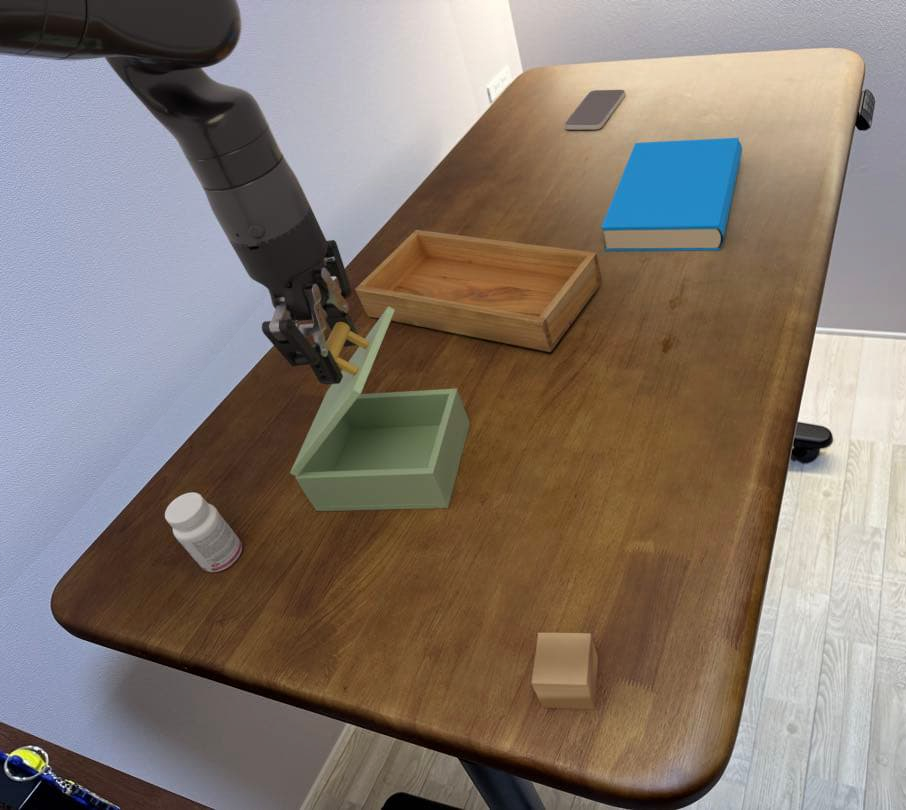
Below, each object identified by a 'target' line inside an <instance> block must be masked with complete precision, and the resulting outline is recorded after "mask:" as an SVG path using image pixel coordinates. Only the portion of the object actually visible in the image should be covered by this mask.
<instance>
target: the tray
mask: <svg viewBox="0 0 906 810" xmlns="http://www.w3.org/2000/svg"><path fill="white" fill-rule="evenodd" d="M598 258H599V257H598V254H597V252H593V251H586V250H578V249H570V248H563V247H554V246H547V245H538V244H531V243H530V244H529V243H521V242H514V241H505V240H498V239H492V238H491V239H489V238H483V237H474V236H467V235H459V234H453V233H452V234H451V233H443V232H436V231H429V230H420V229H415V230H414V231H413V232H412V233H411V234H410V235H409V236H408V237H407V238H406V239H405V240H404V241H403V242H402V243H401V244H400V245H398V247H397V248H396V249H394V250H393V252H392V253H390V254H389V255H388V256H387V257H386V258H385V259H384V260H383V261H382V262H381V263H380V264H379V265H378V266H377V267H376V268H375V269H374V270H373V271H372V272H371V273H370V274H369V275H368V276H367V277H366V278H365V279H364V280H363V281H361V282H360V284H358V285H357V286H356V287H355V288H354V290H355V292H356V294H357V297H358V299H359V301H360V303H361V306H362V308H363V310H364V312H365V314H366V316H367V317H369V318H373V319H374V318H375V319H380V317H381V316H382V314H383V313H384V312H385V310H386V309H387V307H388V306H389V307H391V308H392V309H394V310H395V311H394V314H393V316H392V319H391V321H390V322H395V323H396V322H397V323H402V324H405V325H412V326H417V327H421V328H427V329H431V330H437V331H441V332H448V333H451V334H456V335H461V336H467V337H473V338H476V339H483V340H488V341H493V342H497V343H502V344H507V345H512V346H517V347H522V348H528V349H532V350H538V351H542V352H548V353H551V352H552V351H553V350H554V348H555V347H556V346H557V344H558V343H559V341H560V340H561V339H562V338H563V336H564V335H565V333H566V332H567V330H568V329H569V328H570V326H571V325H572V324H573V322H574V321H575V320H576V319H577V317H578V316H579V314H580V313H581V312H582V310H583V309H584V308H585V306H586V305H587V303H588V302H589V301H590V299H591V298H592V296H593V295H594V294H595V292H596V291H597V289H598V288H599V287H600V285H601V284H602V274H601V269H600V264H599V259H598Z"/></svg>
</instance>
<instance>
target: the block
mask: <svg viewBox="0 0 906 810" xmlns="http://www.w3.org/2000/svg"><path fill="white" fill-rule="evenodd" d="M593 639H594V638H593V637H592V633H590V632H538V633H537V640H536V646H535V654H534V661H533V669H532V674H531V675H532V676H531V686H532V687H533V691H534V692H535V695H536V698H537V699H538V701H539V704H540V706H541V708H542V709H565V710H567V709H568V710H593V711H594V710H595V709H596V697H597V684H598V672H599V671H598V669H599V657H598V653H597V650H596V646H595V643H594V640H593Z"/></svg>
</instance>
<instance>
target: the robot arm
mask: <svg viewBox="0 0 906 810" xmlns="http://www.w3.org/2000/svg"><path fill="white" fill-rule="evenodd" d="M242 21H243V19H242V14H241V9H240V7H239V3H238V0H0V56H8V57H19V58H27V59H29V58H30V59H39V60H52V61H69V62H70V61H73V62H75V61H87V60H94V59H101V58H104V60H105V61H106V62H107V64H108V65H109V66H110V68H111V69H112V70H113V71H114V72H115V74H116V75H117V76H118V77H119V79H120V80H121V81H122V82H123V83H124V85H125V86H126V87H128V89H129V91H131V92H132V93H133V94H134V96H135V97H136V98H137V100H139V101H140V102H141V104H142V105H143V106H144V107H145V108H146V109H147V110H148V112H149V113H150V114H151V115H152V116H153V118H155V119H156V120H157V121H158V122H159V123H160V124H161V125H162V126H163V128H164V129H165V130H167V131H168V132H169V134H171V136H172V137H173V138H174V139H175V140H176V142H177V144H178V146H179V147H180V149H181V151H182V153H183V155H184V156H185V157H184V158H185V159H186V161H187V163H188V165H189V166H190V167H191V169H192V171H193V173H194V175H195V176H196V177H195V178H196V179H197V180H198V182H199V184H200V185H201V187H202V190H203V191H204V193H205V196H206V198H207V201H208V204H209V206H210V208H211V212H212V213H213V215H214V216H215V218H216V220H217V222H218V224H219V225H220V227H221V229H222V231H223V233H224V234H225V236H226V238H227V240H228V241H229V244H230V245H231V247H232V249H233V250H234V252H235V253H236V255H237V257H238V260H239V261H240V263H241V264H242V266H243V268H244V270H245V272H246V273H247V275H248V277H249V278H250V279H252V280H253V281H255V282H257V283H258V284H260V285H262V286H263V287H265V288H267V290H268V292H269V295H270V300H271V304H272V307H273V308H274V312H273V316H272V318H271V320H267V321H266V320H265V321H263V322H262V323H261V331H262V333H263V334H264V336H265V337H266V338H267V339H268V340H269V342H270V343H271V344H272V345H273V346H274V347H275V349H276V350H277V351H278V352H279V353H280V354H281V356H282V357H283V358H284V359H285V360H286V362H288V363H289V365H290V366H291V367H299V366H308V365H309V366H310V368H311V370H312V372H313V374H314V375H315V377H316V379H317V381H318V382H319V383H320V384H322V385H332V384H339V383H340V382H341V380H342V378H343V375H342V373H341V371H342V370H341V369H340V368H339V367H338V365H337V363H336V361H335V360H334V358H333V356H332V354H331V352H330V350H328V348H327V344H326V342H327V340H326V337H325V333H324V332H325V330H327V325H328V327H329V329H330V332H332V330H333V328H334V326H335V324H336V323H337V322H344V323H346V324H347V325H348V326H349V327H350V331H352V332H353V333H355V334H357V335H359V334H358V332H357V329H356V327H355V325H354V322H353V321H352V318H351V316H350V314H349V311H350V305H349V302H348V301H347V298H351V297H352V294H353V291H352V287H351V284H350V280H349V277H348V275H347V271H346V268H345V265H344V262H343V259H342V256H341V252H340V250H339V246H338V243H337V241H336V240H335V239H331V240H330V239H329V240H327V239H326V236H325V234H324V232H323V230H322V228H321V226H320V224H319V222H318V219H317V218H316V215H315V213H314V211H313V209H312V207H311V204H310V202H309V200H308V198H307V196H306V193H305V192H304V189H303V188H302V185H301V183H300V181H299V179H298V177H297V176H296V175H297V174H296V173H295V172H294V170H293V169H292V167H291V166H290V164H289V162H288V160H287V159H286V157H285V155H284V154H283V152H282V150H281V148H280V146H279V143H278V141H277V138H276V137H275V135H274V133H273V131H272V128H271V126H270V124H269V122H268V120H267V118H266V115H265V114H264V111H263V110H262V107H261V106H260V104H259V103H258V101H257V99H256V98H255V96H253V95H252V94H251V93H250V92H249V91H247V90H246V89H243V88H239V87H235V86H232V85H227V84H224V83H221V82H218V81H215V80H214V79H213V78H212V77H210V76H209V75H208V74H207V72H206V71H205V70H204V68H209V67H213V66H217V65H218V64H221V63H222V62H223V61H225V60H227V59H228V58H229V57H230V56H231V55H232V53H234V51H235V49H236V47H237V46H238V44H239V42H240V39H241V35H242V30H243V29H242V28H243V26H242V25H243V22H242ZM332 277H335V278H337V281H338V284H339V285H338V284H337V283H336V282H335V280H334V279H333V278H332ZM325 316H326V318H325ZM302 321H304V322H305V321H313V323H304V324H301V323H299V322H302ZM306 336H311V337H312V338H313V341H314V344H311V342H310V341H309V340H308V339H307V337H306ZM355 346H357V345H356V344H354V343H353V342H351V341H349V340H347V339H346V341H345V343H344V345H343V348H344V347H346V348H347V347H355Z"/></svg>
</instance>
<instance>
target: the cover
mask: <svg viewBox="0 0 906 810" xmlns="http://www.w3.org/2000/svg"><path fill="white" fill-rule="evenodd" d="M394 311H395V310H394V309H392V308H391V307H389V306H388V307H387V309H386V310H385V312H384V313H383V314H382V316H381V317H380V318H378V320H377V321H376V323H375V324H374V325H373V327H372V328H371V329H370V331H369V332H368V334H367V335H366V336H365V338H364V337H362V336H361V335H359V334H358V333H357V334H358V335H357V334H355V333H353V332H352V331H350V327H349V326H348V325H347V324H346V323H344V322H337V323H336V324H335V326H334V328H333V330H332V331H330V334H329V336H328V338H327V340H326V344H327V348H328V350H330V352H331V354H332V356H333V358H334V360H335V361H336V363H337V365H338V367H339V369H340V371H341V373H342V375H343V378H342V380H341V382H340V383H339V384H330V386H329V388H328V389H327V391H326V393H325V395H324V397H323V399H322V400H321V401H322V402H321V403H320V406H319V408H318V410H317V413H316V415H315V417H314V419H313V421H312V424H311V426H310V428H309V430H308V432H307V434H306V438H305V439H304V441H303V443H302V445H301V448H300V450H299V453H298V455H297V457H296V459H295V460H294V463H293V465H292V468H291V470H290V472H289V474H290V475H293V476H294V477H296V476H298V474H299V473H300V472H301V470H302V469H303V468H304V467H305V465H306V464H307V463H308V461H309V460H310V459H311V457H312V456H313V455H314V454H315V452H316V451H317V450H318V448H319V447H320V446H321V445H322V443H323V442H324V441H325V439H326V438H327V437H328V436H329V434H330V433H331V432H332V430H333V429H334V428H335V426H336V425H337V424H338V423H339V421H340V420H341V419H342V417H343V416H344V415H345V414H346V412H347V411H348V410H349V408H350V407H351V406H352V404H353V403H354V402H355V401H356V399H357V398H358V397H359V395H360V394H362V393H363V390H364V387H365V385H366V383H367V380H368V377H369V375H370V373H371V370H372V368H373V365H374V363H375V360H376V358H377V355H378V353H379V351H380V348H381V346H382V343H383V341H384V339H385V335H386V333H387V331H388V328H389V326H390V323H391V322H392V321H391V319H392V316H393V314H394ZM346 339H347V340H349V341H351V342H353V343H354V344H356V346H357V347H358V348H357V349H356V351H355V352H354V353H353V354H352V356H351V357H350V358H349V360H348V361H347V360H345V359H343V358H342V357H339V356H340V354H341V352H342V350H343V348H344V347H343V345H344V343H345V341H346Z"/></svg>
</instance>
